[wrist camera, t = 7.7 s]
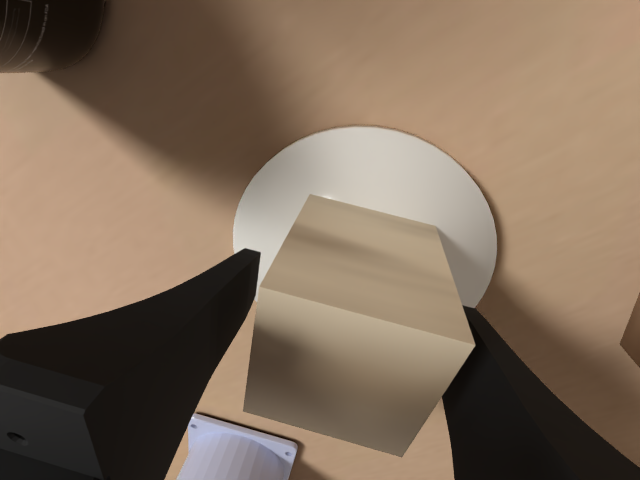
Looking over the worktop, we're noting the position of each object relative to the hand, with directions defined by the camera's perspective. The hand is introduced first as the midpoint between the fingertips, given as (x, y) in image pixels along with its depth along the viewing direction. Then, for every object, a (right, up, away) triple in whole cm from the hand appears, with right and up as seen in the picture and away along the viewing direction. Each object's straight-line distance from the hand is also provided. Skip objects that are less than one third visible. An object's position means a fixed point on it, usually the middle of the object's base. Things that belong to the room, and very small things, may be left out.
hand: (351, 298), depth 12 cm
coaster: (+1, +2, +3) cm, 3 cm away
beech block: (0, +1, +2) cm, 2 cm away
